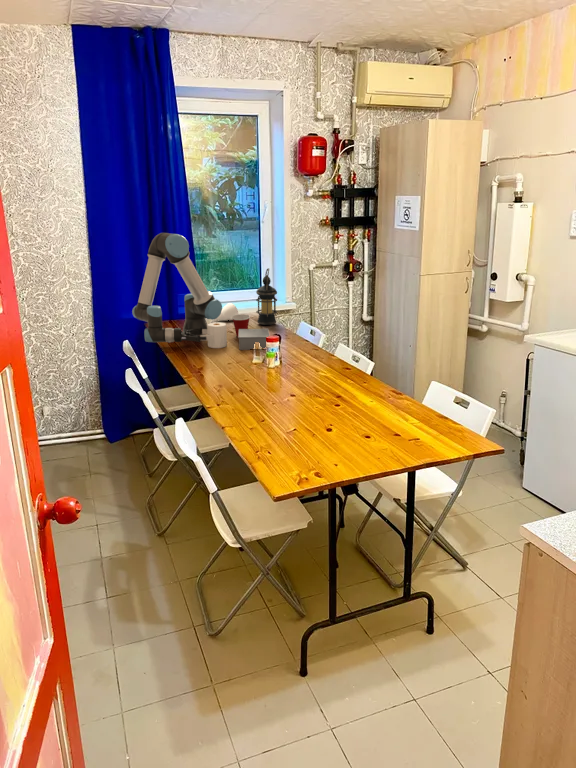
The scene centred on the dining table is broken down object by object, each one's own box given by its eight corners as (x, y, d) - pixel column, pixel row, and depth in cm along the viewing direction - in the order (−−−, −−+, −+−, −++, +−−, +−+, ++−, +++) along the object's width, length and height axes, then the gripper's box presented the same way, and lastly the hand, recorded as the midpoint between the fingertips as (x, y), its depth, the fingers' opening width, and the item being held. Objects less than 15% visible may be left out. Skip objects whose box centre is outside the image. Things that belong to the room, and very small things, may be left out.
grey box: (238, 341, 337) (238, 329, 334) (268, 340, 338) (268, 328, 335) (238, 349, 319) (238, 337, 317) (269, 349, 320) (269, 336, 318)
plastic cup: (228, 337, 344) (228, 317, 340) (237, 333, 353) (236, 313, 350) (245, 339, 340) (245, 318, 336) (253, 335, 350) (253, 315, 346)
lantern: (255, 322, 382) (255, 266, 371) (276, 321, 383) (276, 266, 372) (257, 327, 369) (256, 270, 357) (278, 326, 370) (278, 269, 359)
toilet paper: (219, 349, 320) (218, 327, 316) (204, 346, 325) (203, 324, 322) (230, 345, 328) (230, 323, 325) (215, 342, 334) (215, 321, 330)
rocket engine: (209, 309, 373) (230, 299, 383) (203, 318, 382) (224, 308, 392) (219, 324, 372) (240, 313, 382) (213, 332, 381) (234, 322, 392)
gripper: (177, 336, 336) (214, 335, 337) (171, 347, 312) (212, 347, 314) (176, 323, 333) (214, 322, 335) (170, 333, 310) (211, 333, 311)
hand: (213, 334), depth 324 cm, fingers open, 13 cm apart
